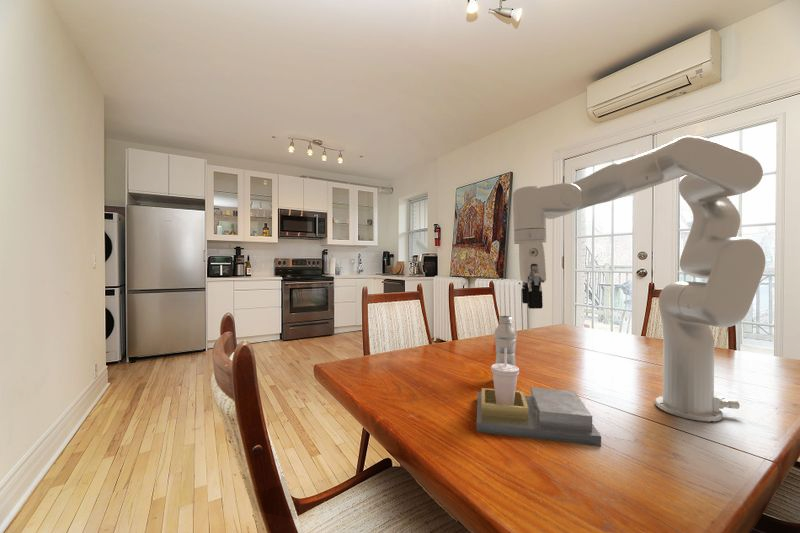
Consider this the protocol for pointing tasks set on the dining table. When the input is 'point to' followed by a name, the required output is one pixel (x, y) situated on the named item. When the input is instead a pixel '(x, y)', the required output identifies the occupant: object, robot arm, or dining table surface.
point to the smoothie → (505, 381)
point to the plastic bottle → (505, 340)
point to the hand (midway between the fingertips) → (531, 305)
